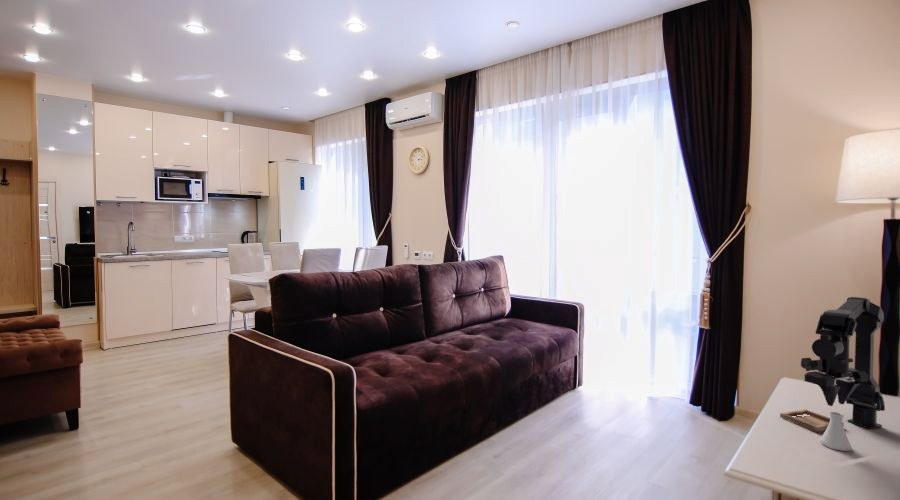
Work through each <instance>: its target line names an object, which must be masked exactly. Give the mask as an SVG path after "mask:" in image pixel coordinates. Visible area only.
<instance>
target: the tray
mask: <svg viewBox="0 0 900 500" xmlns="http://www.w3.org/2000/svg"><path fill="white" fill-rule="evenodd" d="M803 414H807V415H810V416H804V417H802V416H797V415H803ZM792 416H796V417H795V418H794V417H792ZM779 417H780V418H781V417H782V419H783V418H784V419H783V420H786V419H787V421H788V420H789V422H790V421H791V422H790V423H792V422H793V424H795V425H798V426H800V427H802V428H804V429H806V430H807V431H808V430H809V431H811V432H812V433H815V434H822V433H825V431H826V429H827V427H828V425H829V422H830V417H827V416H826V415H822V414H819V413H817V412H813V411H811V410H807V409H800V410H795V411H787V412H781V413H779ZM842 423H843V427H844V422H843V421H842Z"/></svg>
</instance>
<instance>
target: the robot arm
mask: <svg viewBox="0 0 900 500" xmlns="http://www.w3.org/2000/svg"><path fill="white" fill-rule="evenodd" d="M884 319H885V314H884V311H883V309H882V308H881V307H880V306H879V305H877V304H875V303H873V302H871V300H870V299H869V298H866V297H858V296H857V297H856V296H849V297H847V299H846V301H845V302H844V303H842V304H841V305H840V306H839V307H838V308H837V309H828V310H825V311H823V313H822V314H820V316H819V320H818V323H817V326H816V329H815V335H820V336H819V338H818V339H815V340H814V342H812V345H811V350H812V352H813V354H814V355H816V356H817V357H818V358H819V359H812V358H811V357H804V358H803V357H801V360H800V367H802V368H803V369H805V372H806V373H804V374H803V375H804V380H803V381H804V382H807V383H810V384H813V385H817V386H818V387H820V390H821V391H822V394H823V396H824V398H825V401H826V404H827V406H830V407H833V405H834V404H835V402H836V398H837V399H838V400H837V401H838V404H840V405H844V404H845V403H846V404H848V405H852V418H851V419H847V422H848V423H852V424H854V425H856V426H860V427H863V428H866V429H868V430H869V429H875V428H882V427H883V425H882V424H880V423H877V417H878V415H877V413H878V412H880V411H881V412H882V411H885V410H886V405H885V400H884V397H883V395H882V393H881V391H880V385H879V384H878V382H877V381H876V379H875V378H874V356H875V355H874V353H875V351H874V350H875V333H877V332H878V331H879V329H881V328H882V323H884ZM854 333H855V341H854V342H855V343H854V344H855V347H854V349H855V350H854V358H851V357H850V339H851V337H852V336H854ZM853 362H854V368H853V367H850V363H853Z"/></svg>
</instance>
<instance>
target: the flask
mask: <svg viewBox="0 0 900 500" xmlns="http://www.w3.org/2000/svg"><path fill="white" fill-rule="evenodd" d="M828 413H829V415H830V416H829V418H830V422H829V425H828V427H827V429H826V431H825V432H823V434H822V436H821V438H820V440H819V441H820V443H821V444H822V445H823V446H824V447H827V448H830V449H831V450H837V451H842V452H847V451H848V452H849V451H853V448H852V445H851V443H850V441H849V439H848V436H847V433H846V430H845V428H844V426H843V423H844V422H843V418H844V417H845V415H844V414H843V413H842V412H838V411H829V412H828ZM842 422H843V423H842Z"/></svg>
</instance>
